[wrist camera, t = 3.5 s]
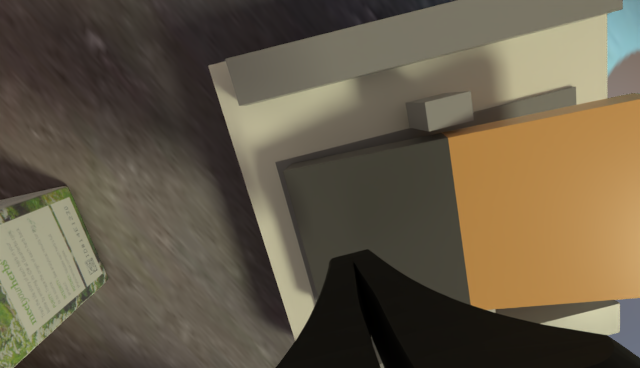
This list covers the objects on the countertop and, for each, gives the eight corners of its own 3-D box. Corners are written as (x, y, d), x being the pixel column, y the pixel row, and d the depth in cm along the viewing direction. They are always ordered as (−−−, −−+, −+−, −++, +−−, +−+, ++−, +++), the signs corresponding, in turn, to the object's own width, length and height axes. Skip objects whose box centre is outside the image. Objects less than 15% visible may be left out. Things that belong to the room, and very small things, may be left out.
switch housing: (307, 341, 19) (310, 433, 14) (225, 72, 15) (185, 56, 10) (561, 277, 19) (661, 344, 14) (547, -9, 15) (682, -70, 10)
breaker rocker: (329, 304, 15) (325, 322, 14) (290, 163, 13) (282, 171, 12) (629, 276, 12) (654, 296, 11) (631, 93, 10) (663, 94, 9)
